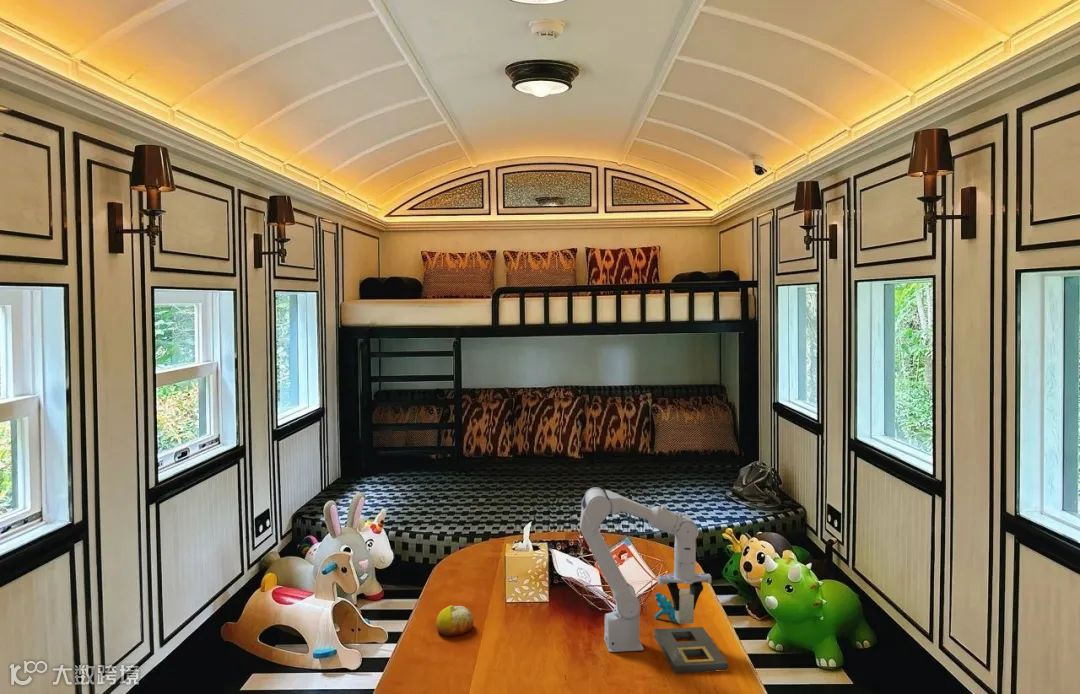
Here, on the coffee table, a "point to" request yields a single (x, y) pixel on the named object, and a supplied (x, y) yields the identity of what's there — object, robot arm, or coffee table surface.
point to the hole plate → (690, 650)
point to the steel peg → (685, 607)
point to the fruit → (454, 621)
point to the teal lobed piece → (665, 607)
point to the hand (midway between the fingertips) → (684, 608)
